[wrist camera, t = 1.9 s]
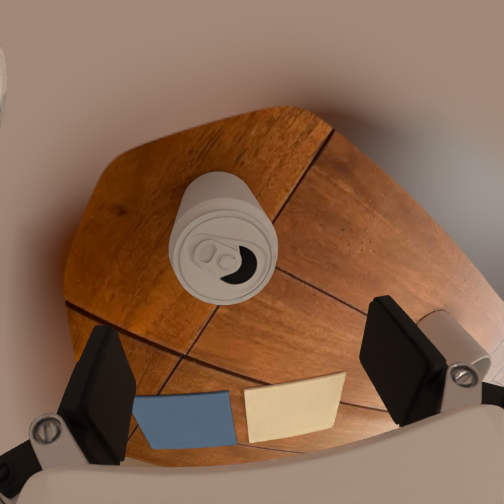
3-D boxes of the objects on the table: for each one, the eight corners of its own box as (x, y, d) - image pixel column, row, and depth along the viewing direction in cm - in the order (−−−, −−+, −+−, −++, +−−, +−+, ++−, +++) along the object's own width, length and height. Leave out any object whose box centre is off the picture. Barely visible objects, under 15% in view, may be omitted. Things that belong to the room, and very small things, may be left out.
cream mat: (249, 441, 43) (249, 443, 43) (243, 388, 37) (244, 390, 37) (332, 425, 45) (332, 427, 44) (345, 370, 39) (346, 372, 39)
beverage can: (230, 249, 29) (247, 326, 19) (169, 219, 27) (148, 284, 17) (265, 191, 28) (305, 238, 17) (202, 157, 26) (199, 181, 15)
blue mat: (152, 447, 41) (152, 448, 41) (125, 395, 36) (124, 397, 35) (236, 442, 43) (237, 444, 42) (228, 390, 37) (228, 392, 37)
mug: (395, 346, 39) (435, 399, 29) (436, 300, 37) (484, 347, 27) (429, 367, 43) (462, 411, 33) (463, 329, 41) (502, 369, 31)
